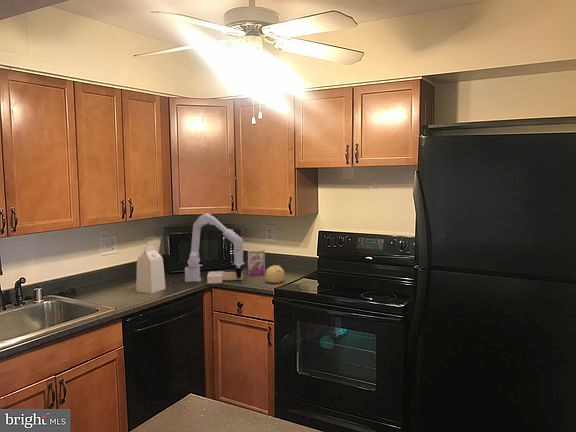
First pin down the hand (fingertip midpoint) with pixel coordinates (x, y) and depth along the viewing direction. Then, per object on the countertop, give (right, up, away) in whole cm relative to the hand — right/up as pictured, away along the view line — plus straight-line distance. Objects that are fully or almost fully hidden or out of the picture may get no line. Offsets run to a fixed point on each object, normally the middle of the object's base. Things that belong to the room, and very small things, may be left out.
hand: (239, 277), depth 298 cm
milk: (-50, -5, -23) cm, 55 cm away
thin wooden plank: (-4, -2, 0) cm, 5 cm away
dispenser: (-15, -2, -1) cm, 15 cm away
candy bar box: (+10, -1, +16) cm, 19 cm away
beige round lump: (+23, -3, -7) cm, 24 cm away
